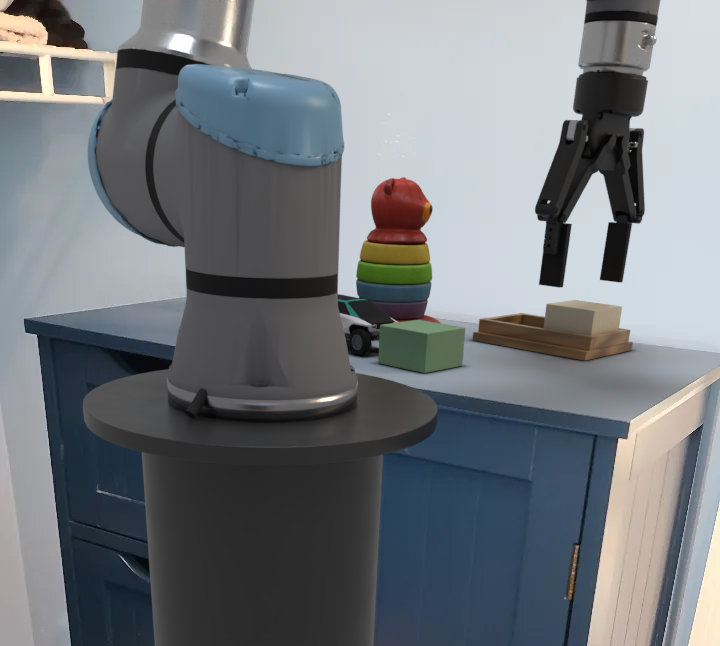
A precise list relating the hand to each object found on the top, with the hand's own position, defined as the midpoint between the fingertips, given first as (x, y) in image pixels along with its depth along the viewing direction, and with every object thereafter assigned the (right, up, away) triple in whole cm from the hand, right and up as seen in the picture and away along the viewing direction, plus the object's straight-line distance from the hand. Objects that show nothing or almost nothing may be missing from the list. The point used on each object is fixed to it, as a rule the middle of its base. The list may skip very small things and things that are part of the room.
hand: (582, 283), depth 111 cm
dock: (-3, -5, +6) cm, 8 cm away
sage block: (-20, -12, -9) cm, 24 cm away
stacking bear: (-22, -3, +9) cm, 24 cm away
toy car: (-27, -8, 0) cm, 28 cm away
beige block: (0, -5, +3) cm, 6 cm away
